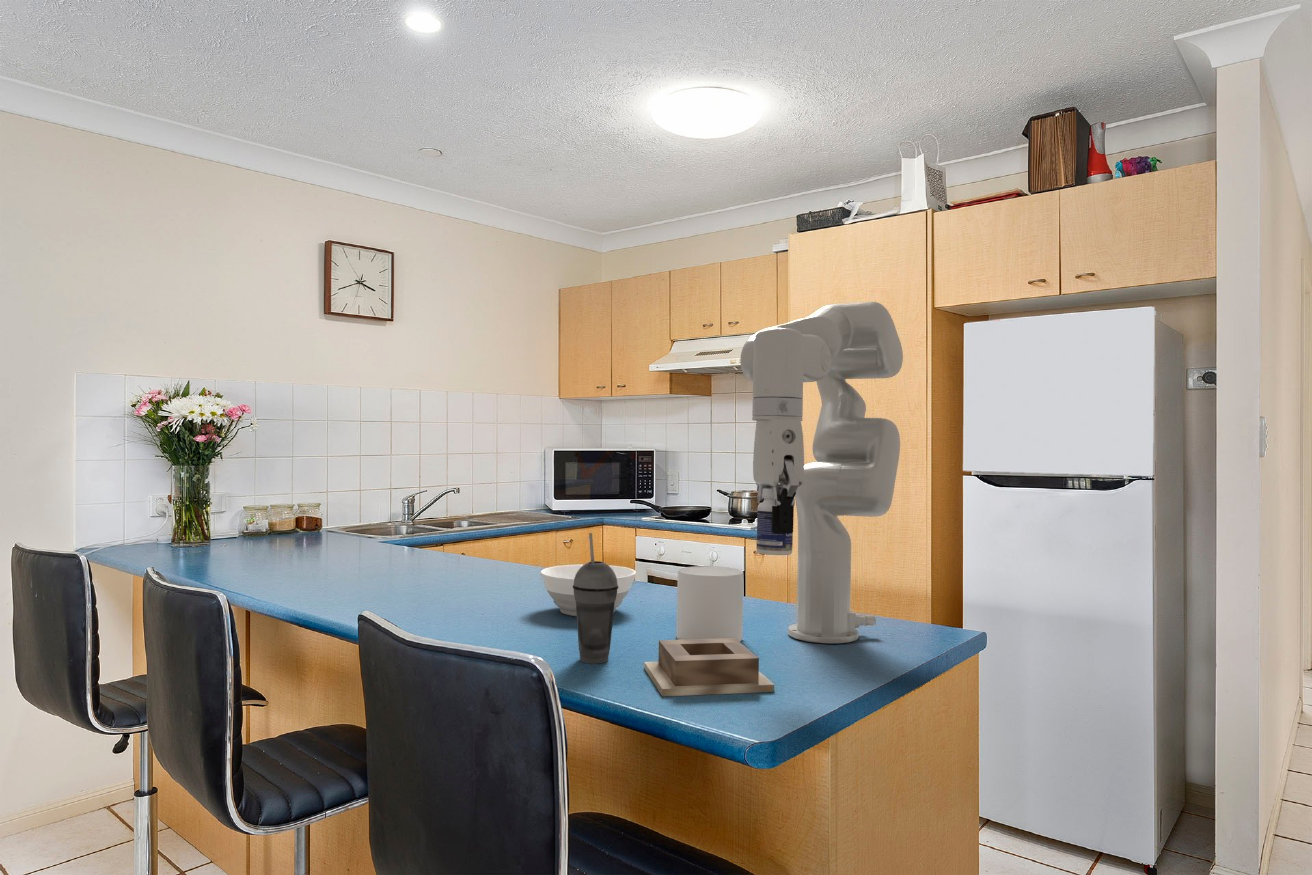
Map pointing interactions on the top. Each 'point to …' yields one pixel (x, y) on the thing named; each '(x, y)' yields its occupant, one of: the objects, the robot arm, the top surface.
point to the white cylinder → (709, 603)
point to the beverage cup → (594, 608)
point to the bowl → (562, 583)
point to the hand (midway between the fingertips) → (774, 530)
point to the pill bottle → (765, 538)
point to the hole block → (706, 668)
